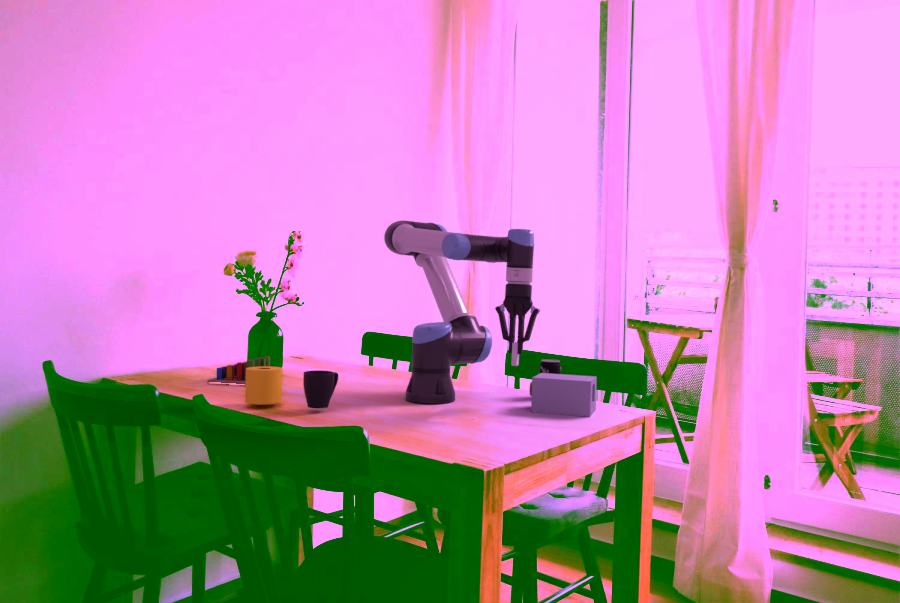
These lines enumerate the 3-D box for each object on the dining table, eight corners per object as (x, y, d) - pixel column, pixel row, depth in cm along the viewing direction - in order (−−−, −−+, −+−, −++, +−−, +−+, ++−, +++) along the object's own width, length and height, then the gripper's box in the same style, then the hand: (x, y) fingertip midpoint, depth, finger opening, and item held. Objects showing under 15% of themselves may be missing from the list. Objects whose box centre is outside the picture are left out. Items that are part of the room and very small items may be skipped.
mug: (348, 404, 189) (348, 370, 189) (319, 410, 179) (320, 374, 179) (325, 401, 194) (326, 368, 194) (296, 407, 183) (297, 372, 183)
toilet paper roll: (266, 397, 198) (266, 365, 198) (288, 401, 192) (289, 368, 192) (237, 401, 190) (238, 368, 190) (260, 405, 184) (261, 371, 184)
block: (531, 411, 186) (532, 377, 185) (540, 405, 197) (541, 372, 197) (589, 416, 180) (591, 381, 180) (595, 409, 192) (596, 376, 191)
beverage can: (559, 400, 206) (560, 361, 206) (538, 399, 208) (539, 360, 207) (560, 397, 213) (561, 359, 212) (539, 396, 214) (540, 358, 214)
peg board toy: (233, 378, 241) (234, 354, 241) (278, 380, 238) (279, 356, 238) (206, 384, 224) (207, 358, 224) (254, 387, 221) (255, 361, 221)
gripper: (493, 282, 191) (489, 364, 192) (538, 284, 187) (534, 368, 188) (500, 282, 198) (496, 361, 199) (543, 284, 194) (540, 365, 195)
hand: (514, 365), depth 194 cm, fingers closed
